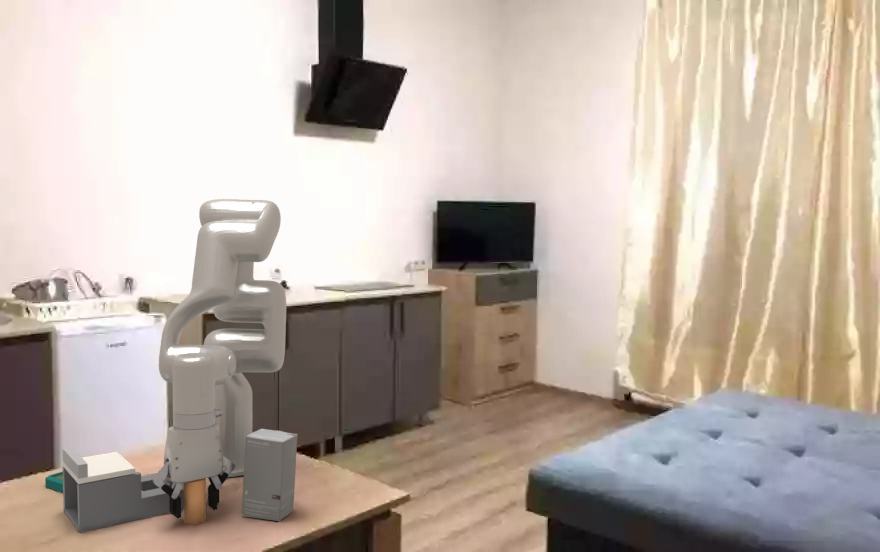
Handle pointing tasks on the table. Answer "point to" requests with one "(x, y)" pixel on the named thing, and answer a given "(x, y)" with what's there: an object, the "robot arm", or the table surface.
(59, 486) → the digital multimeter
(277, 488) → the skincare box
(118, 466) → the lid
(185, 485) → the peg
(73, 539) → the table surface
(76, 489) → the housing
